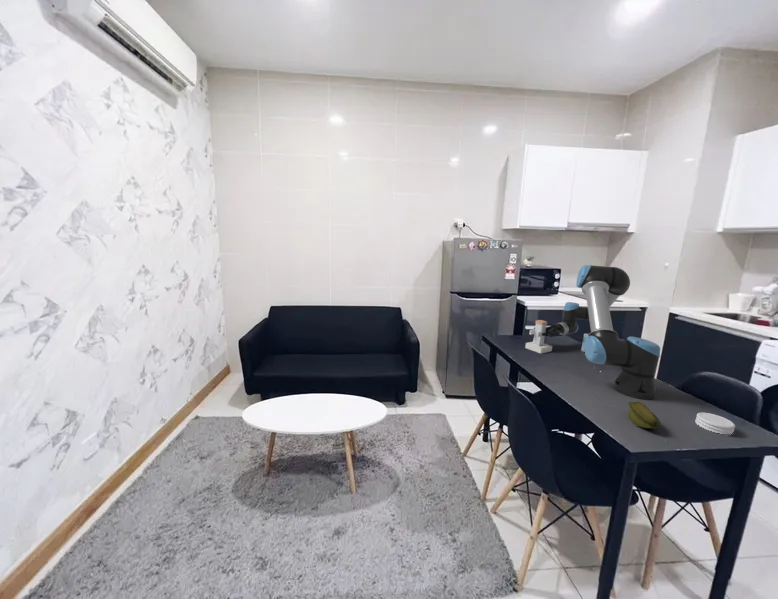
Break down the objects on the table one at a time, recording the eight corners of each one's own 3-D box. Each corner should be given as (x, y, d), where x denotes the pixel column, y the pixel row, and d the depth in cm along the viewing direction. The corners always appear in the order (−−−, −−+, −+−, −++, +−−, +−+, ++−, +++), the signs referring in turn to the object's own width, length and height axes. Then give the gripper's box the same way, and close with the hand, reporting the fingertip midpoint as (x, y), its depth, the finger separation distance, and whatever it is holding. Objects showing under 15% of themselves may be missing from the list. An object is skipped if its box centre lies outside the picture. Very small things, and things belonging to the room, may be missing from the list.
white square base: (551, 352, 193) (552, 346, 192) (540, 355, 187) (541, 348, 187) (535, 347, 201) (536, 340, 200) (525, 349, 196) (526, 342, 195)
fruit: (616, 420, 122) (619, 403, 121) (630, 411, 129) (633, 395, 128) (654, 436, 113) (658, 418, 112) (667, 426, 120) (671, 409, 118)
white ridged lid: (714, 421, 126) (716, 412, 125) (741, 437, 116) (744, 427, 115) (687, 419, 126) (689, 411, 125) (712, 435, 116) (714, 426, 115)
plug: (543, 349, 194) (547, 321, 191) (538, 350, 191) (542, 322, 188) (536, 346, 197) (540, 319, 194) (531, 347, 195) (535, 320, 192)
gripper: (571, 339, 195) (546, 344, 183) (544, 331, 210) (520, 335, 198) (573, 327, 194) (548, 331, 182) (546, 319, 208) (521, 323, 196)
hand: (533, 333), depth 190 cm, fingers closed on plug, 4 cm apart
